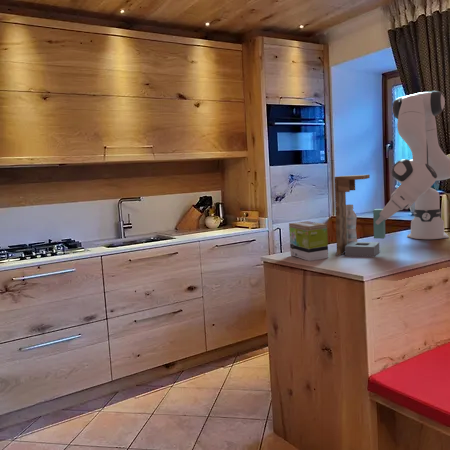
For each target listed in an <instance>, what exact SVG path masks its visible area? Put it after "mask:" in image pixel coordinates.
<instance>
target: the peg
mask: <svg viewBox="0 0 450 450" xmlns="http://www.w3.org/2000/svg"><path fill="white" fill-rule="evenodd" d="M382 210H383V208H375V209H373V210H372V213H373V216H372V217H373V218H372V219H373V239H382V240H383V239H385V238H386V220H383V221H382V222H381V223H380V224H379V225H377V224H376V223H375V221H376V220H377V219H378V218H379V217H380V215H379V214H380V212H381V211H382Z"/></svg>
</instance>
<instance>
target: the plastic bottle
mask: <svg viewBox="0 0 450 450" xmlns="http://www.w3.org/2000/svg"><path fill="white" fill-rule="evenodd" d="M357 217H358V216H357V214H356V212H355V211H354V204H346V226H347V244H349V243H350V242H359V241H358V238H357V229H356V227H357Z"/></svg>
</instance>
